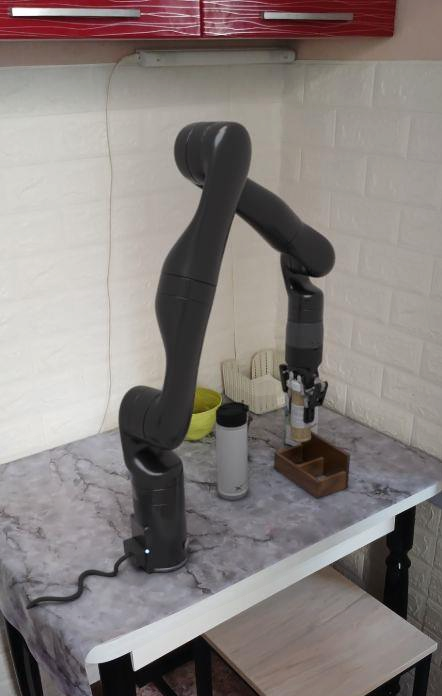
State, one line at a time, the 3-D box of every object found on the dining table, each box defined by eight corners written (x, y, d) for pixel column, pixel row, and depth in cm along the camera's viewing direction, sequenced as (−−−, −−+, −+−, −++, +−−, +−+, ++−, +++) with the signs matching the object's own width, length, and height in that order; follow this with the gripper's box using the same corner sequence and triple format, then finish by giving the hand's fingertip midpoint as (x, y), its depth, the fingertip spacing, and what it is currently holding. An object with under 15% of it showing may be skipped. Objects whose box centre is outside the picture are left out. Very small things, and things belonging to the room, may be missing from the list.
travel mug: (246, 502, 156) (245, 413, 145) (215, 499, 157) (212, 411, 147) (251, 486, 161) (251, 400, 151) (221, 484, 162) (218, 398, 152)
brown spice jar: (301, 431, 164) (303, 373, 158) (315, 439, 161) (318, 380, 155) (285, 437, 162) (286, 378, 156) (299, 445, 159) (301, 385, 152)
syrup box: (318, 442, 177) (320, 385, 170) (302, 451, 174) (304, 393, 166) (298, 435, 181) (300, 378, 173) (283, 444, 177) (284, 386, 170)
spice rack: (317, 499, 156) (318, 465, 152) (273, 468, 167) (274, 436, 163) (347, 487, 159) (350, 454, 155) (303, 458, 171) (304, 426, 167)
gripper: (268, 333, 154) (267, 410, 163) (311, 354, 144) (307, 435, 152) (297, 327, 158) (295, 402, 166) (342, 346, 147) (336, 426, 156)
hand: (301, 417), depth 159 cm, fingers closed on brown spice jar, 4 cm apart
